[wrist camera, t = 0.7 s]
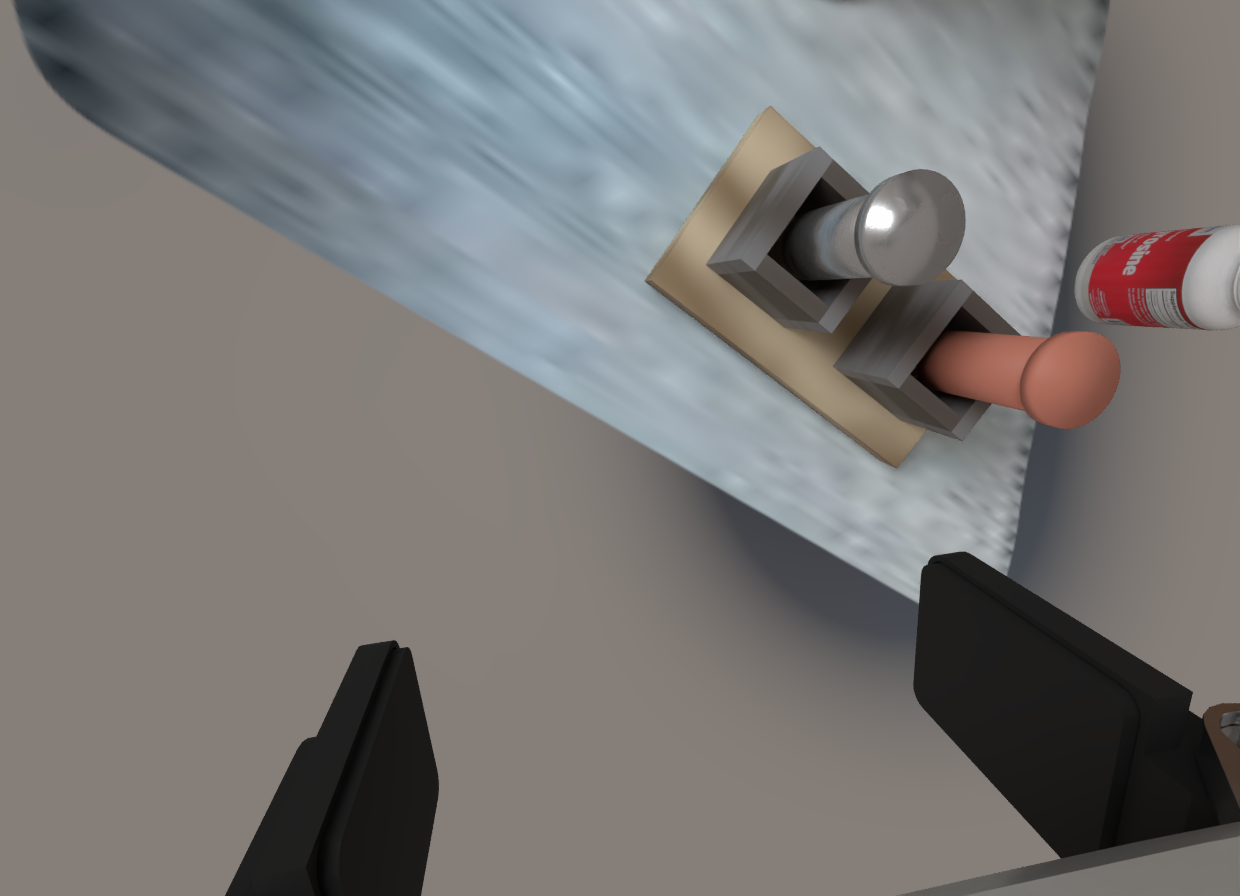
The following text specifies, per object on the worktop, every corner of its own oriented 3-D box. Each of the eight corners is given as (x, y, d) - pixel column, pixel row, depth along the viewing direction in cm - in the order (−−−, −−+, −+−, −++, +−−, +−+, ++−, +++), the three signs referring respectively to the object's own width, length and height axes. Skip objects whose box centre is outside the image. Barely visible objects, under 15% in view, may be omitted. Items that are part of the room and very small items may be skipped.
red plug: (943, 307, 34) (1081, 312, 26) (990, 350, 35) (1137, 368, 27) (895, 370, 35) (1016, 394, 26) (944, 410, 36) (1074, 446, 27)
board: (757, 115, 36) (821, 67, 28) (984, 324, 42) (1087, 331, 34) (644, 281, 37) (676, 277, 30) (880, 460, 43) (957, 496, 36)
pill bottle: (1130, 218, 42) (1337, 193, 31) (1153, 293, 44) (1356, 293, 33) (1058, 268, 42) (1239, 259, 31) (1084, 340, 44) (1264, 355, 33)
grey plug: (807, 185, 31) (913, 144, 23) (865, 237, 32) (985, 216, 24) (758, 255, 32) (843, 241, 23) (816, 304, 33) (917, 307, 24)
